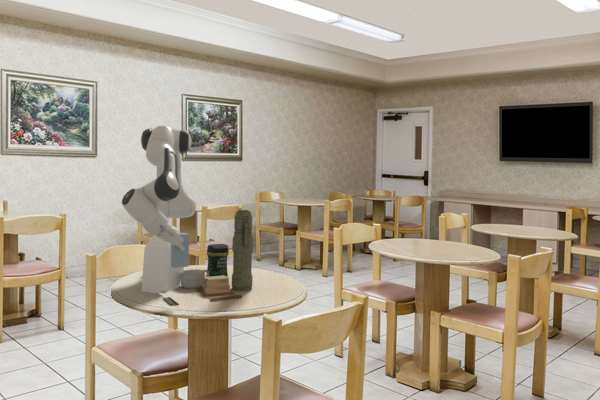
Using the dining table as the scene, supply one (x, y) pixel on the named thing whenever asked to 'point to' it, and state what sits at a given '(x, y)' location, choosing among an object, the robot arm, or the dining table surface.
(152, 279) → the milk
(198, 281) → the teacup
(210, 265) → the coffee jar
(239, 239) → the thermos
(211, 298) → the tray
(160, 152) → the robot arm
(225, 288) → the offcut low
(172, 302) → the mat
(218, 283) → the offcut top
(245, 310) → the dining table surface
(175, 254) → the tall pale blue box
